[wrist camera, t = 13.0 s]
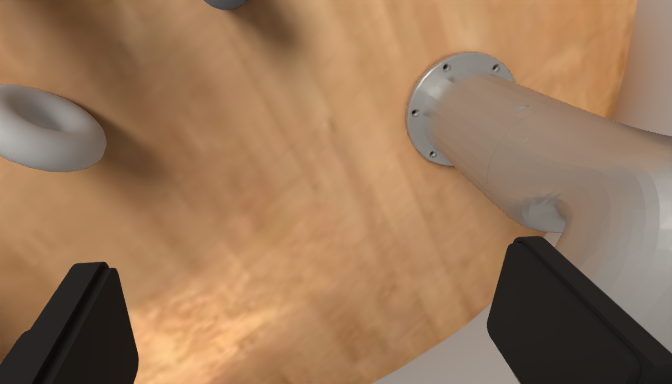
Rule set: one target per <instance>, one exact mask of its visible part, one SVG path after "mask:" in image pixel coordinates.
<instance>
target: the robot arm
mask: <svg viewBox="0 0 672 384" xmlns="http://www.w3.org/2000/svg"><path fill="white" fill-rule="evenodd" d="M444 65H446V66H445V68H444V69H443V66H444ZM493 66H494V68H493ZM492 68H493V69H492ZM413 110H415V112H414V113H412V111H413ZM405 121H406V129H407V133H408V136H409V138H410V140H411V142H412V144H413V145H414V147H415V148H416V149H417V150H418V151H419V152H420V153H421V154H422V155H423V156H424V157H425V158H427V159H428V160H430V161H432V162H434V163H437V164H439V165H445V166H455V167H456V168H457V169H458V170H459V171H460V172H461V173H462V174H463V175H464V176H465V177H466V178H467V179H468V180H469V181H470V182H472V183H473V184H474V185H475V186H476V187H477V188H478V189H479V190H480V191H481V192H482V193H483V194H484V195H485V196H486V197H487V198H488V199H490V200H491V201H492V202H493V203H494V204H495V205H496V206H497V207H498V208H499V209H500V210H501V211H503V212H504V213H505V214H506V215H507V216H508V217H509V218H511V219H512V220H513V221H515V222H517V223H518V224H520V225H522V226H524V227H527V228H530V229H533V230H537V231H542V232H554V233H562V235H561V237H560V239H559V240H558V242H557V244H556V246H555V247H553V246H552V245H551V244H550V243H549V242H548V241H547V240H545V239H544V238H543V237H541V236H530V237H518V238H516V239H515V240H514V242H513V243H512V244H510V245H509V246H508V248H507V251H506V255H505V259H504V262H503V266H502V270H501V273H500V277H499V280H498V284H497V288H496V291H495V295H494V298H493V302H492V306H491V310H490V313H489V317H488V321H487V329H488V333H489V335H490V337H491V339H492V340H493V342H494V343H495V345H496V347H497V348H498V350H499V351H500V353H501V354H502V356H503V357H504V359H505V360H506V362H507V363H508V365H509V367H510V368H511V370H512V372H513V374H514V376H515V377H516V379H517V381H518V382H519V383H520V384H672V136H667V135H662V134H658V133H654V132H650V131H646V130H642V129H638V128H635V127H631V126H628V125H625V124H622V123H619V122H616V121H613V120H610V119H607V118H604V117H602V116H599V115H596V114H594V113H591V112H588V111H586V110H583V109H581V108H578V107H575V106H572V105H570V104H567V103H565V102H562V101H560V100H557V99H554V98H552V97H549V96H547V95H544V94H542V93H539V92H537V91H534V90H532V89H529V88H526V87H524V86H521V85H519V84H516V83H515V81H514V78H513V76H512V74H511V73H510V71H509V70H508V68H507V67H506V66H505V65H504V64H503V63H502V62H500V61H499V60H497V59H496V58H494V57H492V56H489V55H487V54H483V53H479V52H461V53H455V54H452V55H450V56H447V57H445V58H443V59H441V60H439V61H438V62H436V63H435V64H433V65H432V66H431V67H430V68H429V69H428V70H426V71H425V72H424V73H423V75H422V76H421V77H420V78H419V80H418V81H417V82H416V84H415V86H414V88H413V89H412V91H411V94H410V96H409V99H408V102H407V107H406V113H405ZM431 152H432V153H431ZM138 363H139V358H138V352H137V348H136V344H135V340H134V336H133V332H132V328H131V323H130V319H129V315H128V311H127V307H126V303H125V299H124V295H123V291H122V287H121V283H120V279H119V275H118V272H117V270H116V268H109V266H108V265H107V263H106V262H92V263H77V264H74V265H73V266H72V267H71V269H70V270H69V272H68V273H67V275H66V276H65V278H64V279H63V281H62V282H61V284H60V285H59V287H58V288H57V290H56V291H55V293H54V294H53V296H52V297H51V299H50V300H49V302H48V303H47V305H46V306H45V308H44V309H43V311H42V312H41V314H40V315H39V317H38V318H37V320H36V321H35V323H34V324H33V326H32V327H31V329H30V330H28V331H26V332H24V333H23V334H22V335H21V336H20V338H19V339H18V340H17V341H16V343H15V344H14V346H13V347H12V349H11V350H10V352H9V353H8V355H7V356H6V357H5V359H4V360H3V362H2V363H1V365H0V384H134V381H135V377H136V374H137V371H138Z"/></svg>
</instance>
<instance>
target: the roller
mask: <svg viewBox="0 0 672 384" xmlns="http://www.w3.org/2000/svg"><path fill="white" fill-rule="evenodd" d="M204 1H205V2H206V3H208V4H209V5H211V6H213V7H215V8H217V9H221V10H231V9H235V8H237V7H239V6H241V5H242V4H244V3H245V2H246V1H247V0H204Z"/></svg>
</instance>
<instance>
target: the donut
mask: <svg viewBox="0 0 672 384" xmlns="http://www.w3.org/2000/svg"><path fill="white" fill-rule="evenodd" d="M106 146H107V141H106V137H105V134H104V130H103V129H102V127H101V126H100V125H99V123H98V122H97V121H96V120H95V118H94V117H92V116H91V115H90V114H89V113H87V112H86V111H85V110H84V109H82V108H81V107H79V106H77V105H75V104H74V103H72V102H70V101H69V100H67V99H64V98H62V97H60V96H58V95H55V94H53V93H50V92H47V91H44V90H40V89H37V88H32V87H27V86H22V85H14V84H0V156H2V157H4V158H6V159H8V160H10V161H12V162H15V163H18V164H21V165H24V166H27V167H29V168H34V169H39V170H44V171H49V172H72V171H77V170H82V169H86V168H88V167H90V166H91V165H93V164H95V163H96V162H98V161H99V160H100V159H101V158H102V157H103V154H104V152H105V149H106Z"/></svg>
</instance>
